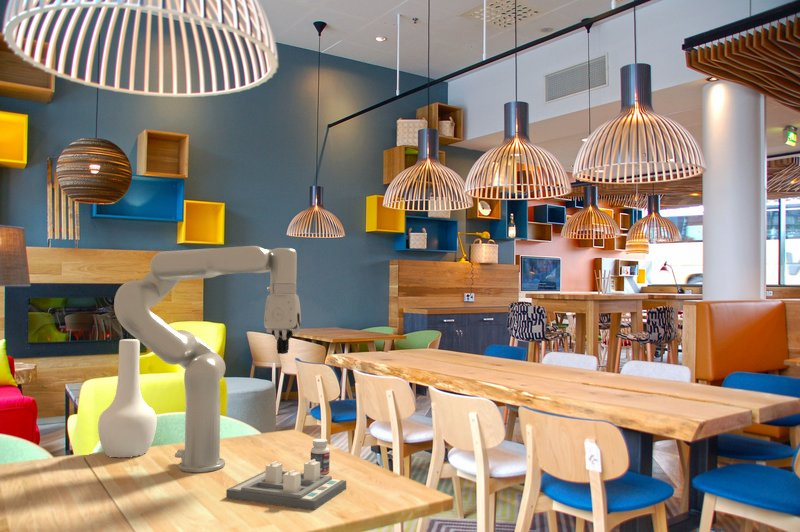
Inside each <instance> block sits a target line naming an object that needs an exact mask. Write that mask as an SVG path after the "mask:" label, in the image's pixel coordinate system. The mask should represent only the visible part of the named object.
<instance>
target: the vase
mask: <svg viewBox="0 0 800 532" xmlns="http://www.w3.org/2000/svg"><path fill="white" fill-rule="evenodd" d="M140 348H141V342H140V341H139V340H138V339H136V338H135V339H134V338H133V339H132V338H127V339H126V338H125V339H120V340H119V342H118V371H117V373H118V375H117V385H116V390H115V396H114V398H113V400H112V402H111V403H110V404H109V406H108V407H107V408H106V409H105V410H103V411H102V412H101V414H100V415H99V418H98V421H97V422H98V423H97V426H98V427H97V431H98V432H97V433H98V437H99V439H98V440H99V442H100V445H101V448H102V450H103V452H104V453H105V455H106V456H107V457H108V456H111V457H130V458H132V457H131V456H136V457H139V456H138V455H140V456H142V455H141V454H143V455H145V454H147V453H148V451H149V450H150V448H151V446H152V444H153V442H154V439H155V435H156V432H157V425H158V422H157V421H158V418H157V414H156V412H155V410H154V408H152V406H149V405H148V404H147V402H146V401H145V400H144V398H143V394H142V392H141V390H142V389H141V380H140V376H141V375H140V356H141V355H140V353H141V349H140ZM146 452H147V453H146ZM144 453H145V454H144ZM111 457H110V458H111Z"/></svg>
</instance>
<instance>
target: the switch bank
mask: <svg viewBox="0 0 800 532" xmlns="http://www.w3.org/2000/svg"><path fill="white" fill-rule="evenodd" d="M289 471H290V470H289ZM289 471H287V470H282V482H281V483H271V482H265V476H266V470H264V471H262V472H260V473H258V474H255V475H254V476H252V477H250V478H248V479H245V480H244V481H241V482H240V483H238V484H235V485H233V486H231V487H229V488H227V489H226V491H225V492H226V493H225V496H226V499H233V500H237V501H245V502H253V503H261V504H267V505H275V506H282V507H289V508H296V509H304V510H310V511H316V510H317V509H318V508H320V507H321V506H323V505H324V504H326V503H327V502H329V501H331V499H333V498H335V497H336V496H338V495H339V494H340V493H342V492H343V491H345V490H347V480H343V479H335V478H333V477H332V476H330V475H325V474H324V475H320V480H319V481H311V480H304V472H301V491H300V492H298V493H292V492H284V491H283V474H285V473H287V472H289Z"/></svg>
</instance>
